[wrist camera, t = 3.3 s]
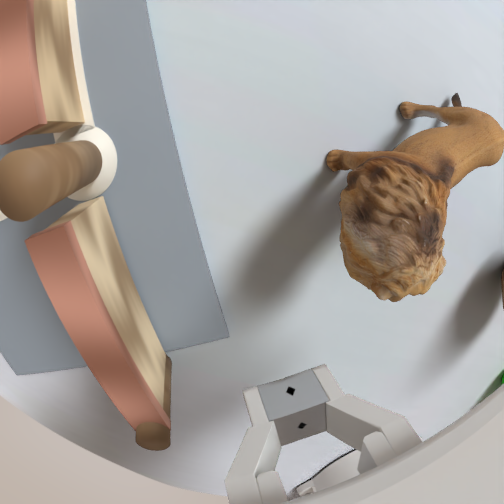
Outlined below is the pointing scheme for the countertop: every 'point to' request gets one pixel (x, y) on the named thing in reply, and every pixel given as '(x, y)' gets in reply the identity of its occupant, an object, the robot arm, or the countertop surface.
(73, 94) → the fence section
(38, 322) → the board
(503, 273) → the natural sponge
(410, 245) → the lion figurine
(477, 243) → the countertop surface
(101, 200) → the fence panel
